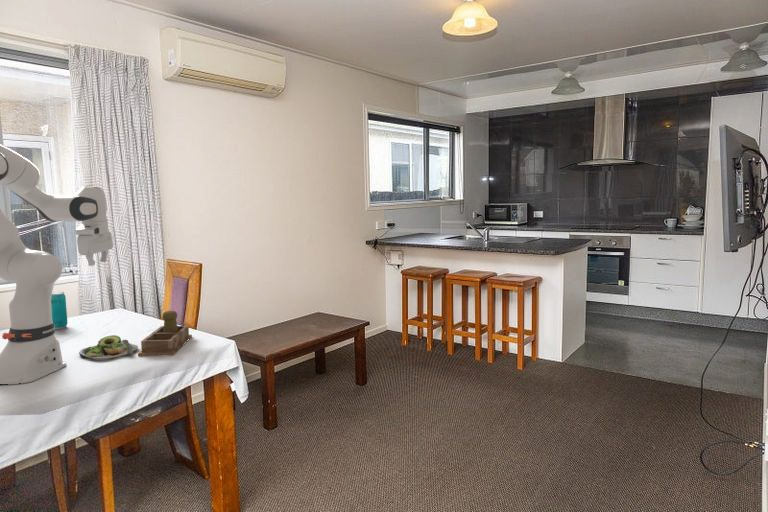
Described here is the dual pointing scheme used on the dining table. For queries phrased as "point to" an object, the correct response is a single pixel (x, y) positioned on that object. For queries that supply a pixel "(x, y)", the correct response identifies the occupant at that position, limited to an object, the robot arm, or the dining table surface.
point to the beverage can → (59, 310)
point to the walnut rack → (164, 342)
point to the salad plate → (109, 349)
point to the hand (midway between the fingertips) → (97, 263)
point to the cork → (170, 322)
